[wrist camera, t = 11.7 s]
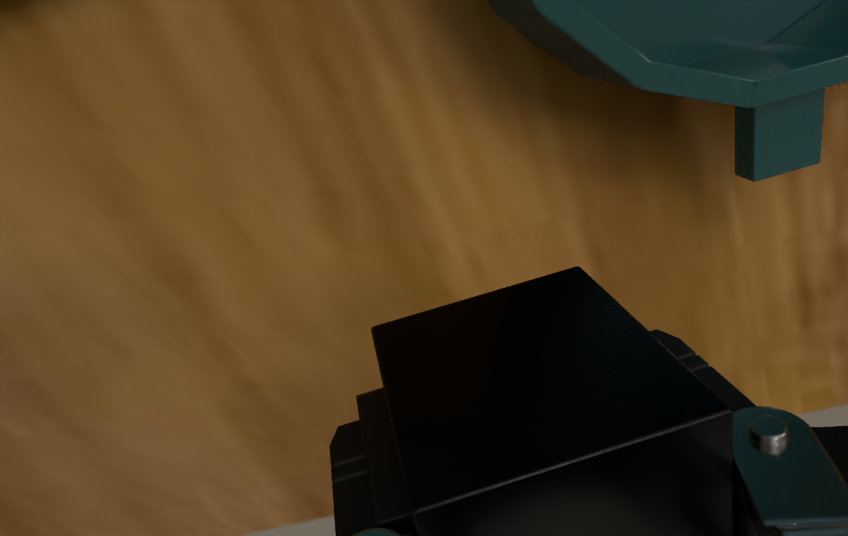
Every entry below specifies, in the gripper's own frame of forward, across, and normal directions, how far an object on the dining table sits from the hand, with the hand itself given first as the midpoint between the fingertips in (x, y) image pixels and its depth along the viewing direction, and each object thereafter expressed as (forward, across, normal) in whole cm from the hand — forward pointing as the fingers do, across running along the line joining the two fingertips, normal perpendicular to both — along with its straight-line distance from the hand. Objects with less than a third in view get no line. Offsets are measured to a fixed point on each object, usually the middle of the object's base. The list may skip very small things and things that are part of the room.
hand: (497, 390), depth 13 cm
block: (0, 0, 0) cm, 0 cm away
